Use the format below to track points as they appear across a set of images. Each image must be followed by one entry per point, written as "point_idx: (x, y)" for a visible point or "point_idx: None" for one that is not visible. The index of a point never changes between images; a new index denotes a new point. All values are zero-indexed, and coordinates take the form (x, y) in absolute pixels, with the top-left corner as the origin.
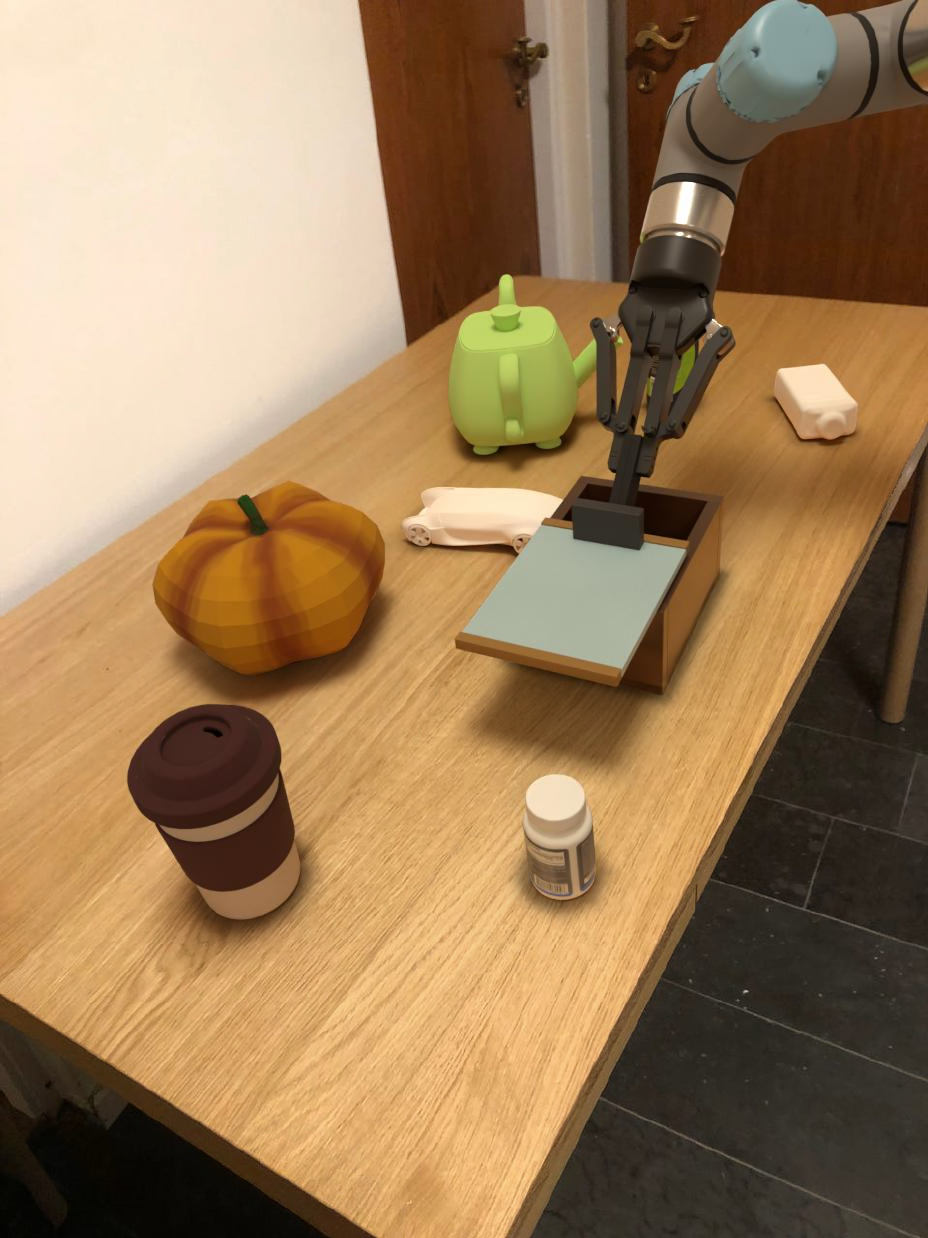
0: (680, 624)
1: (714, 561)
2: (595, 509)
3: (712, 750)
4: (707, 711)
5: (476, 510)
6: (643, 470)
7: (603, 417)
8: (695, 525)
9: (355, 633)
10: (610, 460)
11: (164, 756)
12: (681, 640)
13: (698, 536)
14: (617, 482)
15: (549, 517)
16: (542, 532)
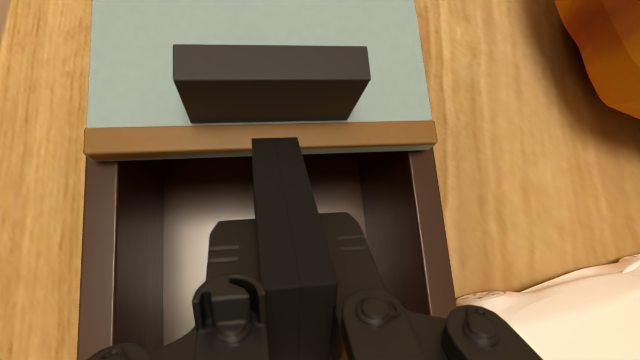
0: None
1: None
2: (300, 47)
3: (55, 8)
4: (79, 67)
5: (606, 306)
6: (229, 226)
7: (472, 319)
8: (112, 278)
9: (556, 3)
10: (352, 229)
11: None
12: None
13: (92, 236)
14: (294, 170)
15: None
16: (414, 95)
